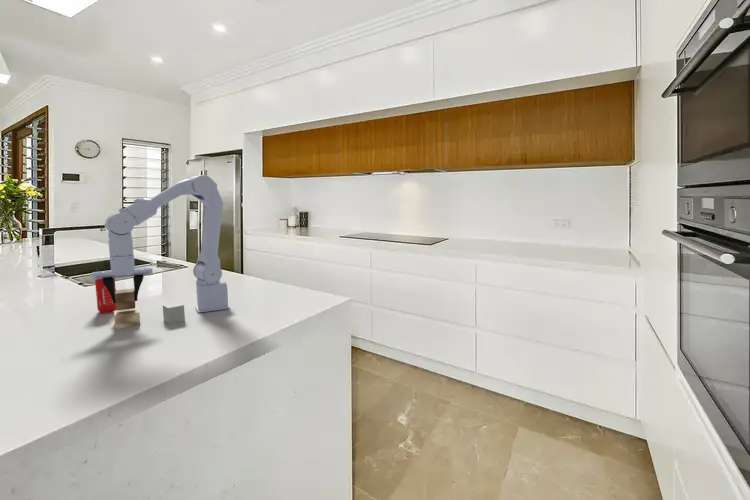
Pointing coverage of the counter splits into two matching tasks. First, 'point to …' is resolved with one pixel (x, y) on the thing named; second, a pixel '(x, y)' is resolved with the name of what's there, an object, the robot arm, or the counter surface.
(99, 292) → the beverage can
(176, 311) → the grey block
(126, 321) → the maple base
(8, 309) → the counter surface
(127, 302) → the walnut block
